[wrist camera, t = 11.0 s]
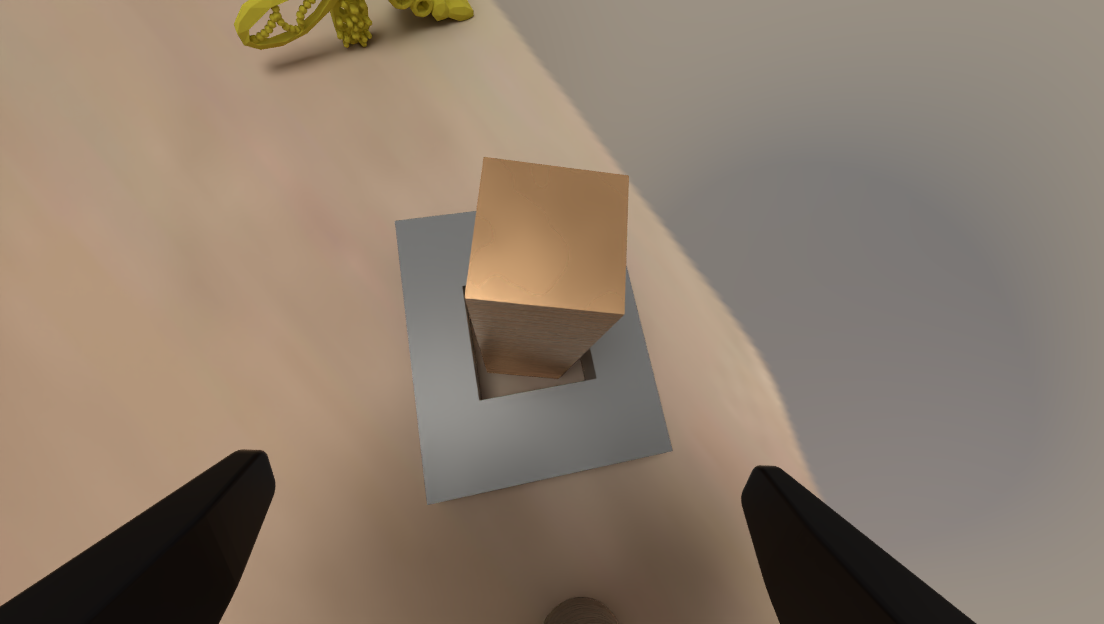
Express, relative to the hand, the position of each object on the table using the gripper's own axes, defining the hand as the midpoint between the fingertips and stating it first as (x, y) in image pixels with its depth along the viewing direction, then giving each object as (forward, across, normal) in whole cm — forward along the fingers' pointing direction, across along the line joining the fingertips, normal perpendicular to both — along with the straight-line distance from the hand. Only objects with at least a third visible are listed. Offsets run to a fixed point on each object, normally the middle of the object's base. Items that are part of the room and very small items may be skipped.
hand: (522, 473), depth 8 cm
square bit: (+12, 0, +5) cm, 13 cm away
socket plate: (+12, 0, +5) cm, 13 cm away
